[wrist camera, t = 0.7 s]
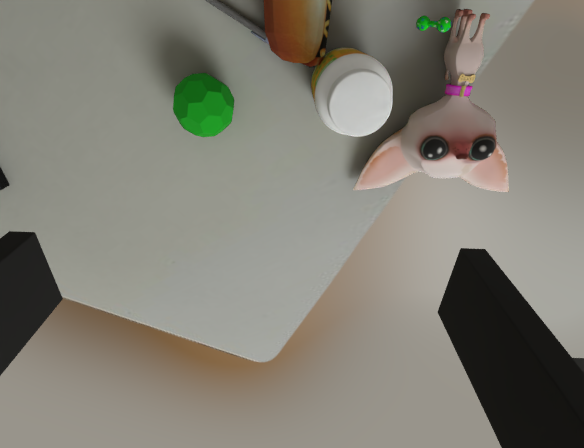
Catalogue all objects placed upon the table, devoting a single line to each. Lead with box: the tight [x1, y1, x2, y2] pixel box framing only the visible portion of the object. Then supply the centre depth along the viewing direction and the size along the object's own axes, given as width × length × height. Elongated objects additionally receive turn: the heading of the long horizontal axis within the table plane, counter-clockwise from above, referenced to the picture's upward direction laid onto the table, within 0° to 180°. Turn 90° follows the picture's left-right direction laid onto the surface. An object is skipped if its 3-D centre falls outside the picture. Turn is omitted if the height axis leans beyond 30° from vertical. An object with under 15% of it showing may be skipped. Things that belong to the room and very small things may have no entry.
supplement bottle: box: [311, 47, 393, 137], centre depth 26 cm, size 5×5×10 cm
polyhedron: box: [173, 73, 234, 137], centre depth 29 cm, size 5×5×5 cm
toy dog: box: [353, 9, 509, 192], centre depth 28 cm, size 15×8×15 cm
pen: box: [206, 0, 269, 44], centre depth 27 cm, size 1×1×14 cm
